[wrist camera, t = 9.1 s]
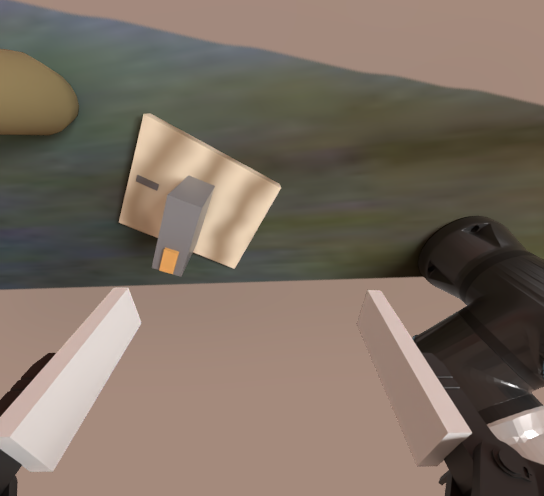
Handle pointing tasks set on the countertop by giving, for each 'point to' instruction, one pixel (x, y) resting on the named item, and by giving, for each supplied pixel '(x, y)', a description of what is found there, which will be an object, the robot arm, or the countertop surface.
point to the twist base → (204, 166)
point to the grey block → (181, 224)
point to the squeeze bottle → (33, 97)
